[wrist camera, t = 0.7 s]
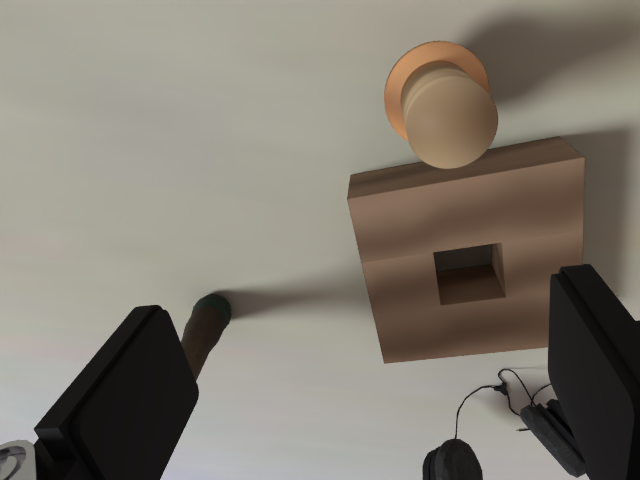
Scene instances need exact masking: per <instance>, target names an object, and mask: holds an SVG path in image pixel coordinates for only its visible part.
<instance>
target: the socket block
mask: <svg viewBox="0 0 640 480" xmlns="http://www.w3.org/2000/svg"><path fill="white" fill-rule="evenodd" d="M584 169H585V157H584V156H583V155H581V154H580V153H579V152H578V151H576V150H575V149H574V148H573V147H571V146H570V145H569V144H568V143H566V142H565V141H564V140H563V139H561V138H560V137H559V136H558V137H552V138H547V139H542V140H536V141H531V142H526V143H520V144H515V145H510V146H504V147H499V148H493V149H488V150H486V151H485V152H484V153H483V154H482V155H481V156H480V157H479V158H478V159H476V160H475V161H473V162H471V163H469V164H467V165H465V166H462V167H458V168H451V169H444V168H438V167H434V166H431V165H429V164H427V163H425V162H418V163H413V164H408V165H402V166H397V167H391V168H386V169H381V170H375V171H370V172H365V173H359V174H354V175H350V182H349V189H348V196H347V201H348V205H349V210H350V214H351V219H352V223H353V227H354V232H355V236H356V241H357V245H358V250H359V254H360V258H361V263H362V267H363V272H364V276H365V281H366V285H367V289H368V294H369V298H370V303H371V307H372V311H373V316H374V320H375V325H376V329H377V334H378V338H379V342H380V347H381V351H382V356H383V360H384V364H385V363H395V362H405V361H415V360H425V359H435V358H445V357H455V356H465V355H475V354H485V353H495V352H505V351H515V350H525V349H535V348H545V347H548V343H549V305H550V277H551V275H552V274H558V273H559V269H560V268H561V267H563V266H573V265H582V256H583V213H584ZM487 244H490V247H491V259H492V264H491V265H484V266H477V267H470V268H462V269H455V270H448V271H441V272H436V269H435V263H434V256H433V252H439V251H446V250H453V249H460V248H467V247H474V246H480V245H487Z"/></svg>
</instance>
